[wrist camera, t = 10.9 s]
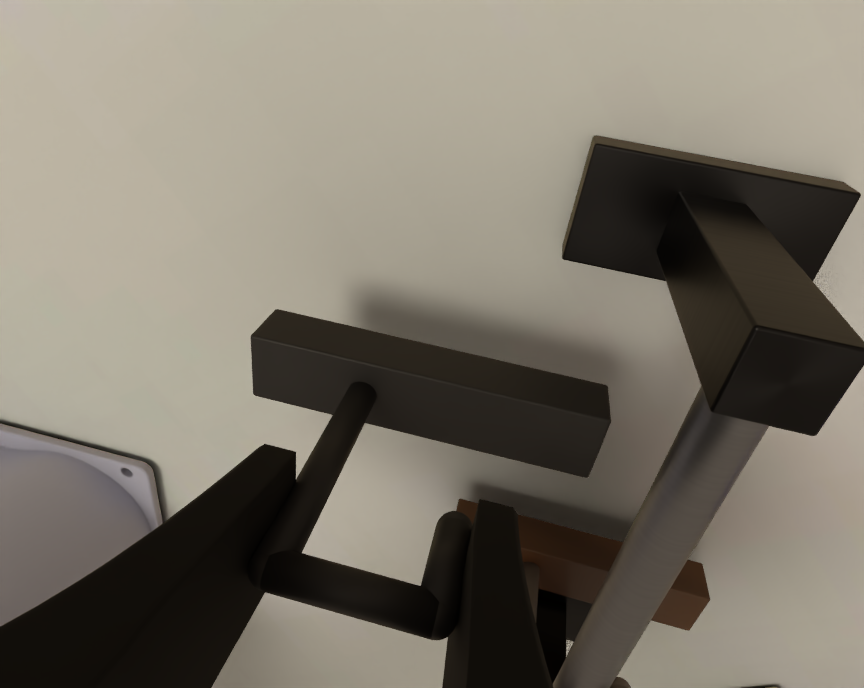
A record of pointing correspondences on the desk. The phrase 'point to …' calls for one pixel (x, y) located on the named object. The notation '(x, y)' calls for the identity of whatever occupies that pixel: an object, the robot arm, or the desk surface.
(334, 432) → the black hanger
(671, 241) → the rail stand
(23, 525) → the robot arm
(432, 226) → the desk surface
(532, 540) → the walnut hanger
